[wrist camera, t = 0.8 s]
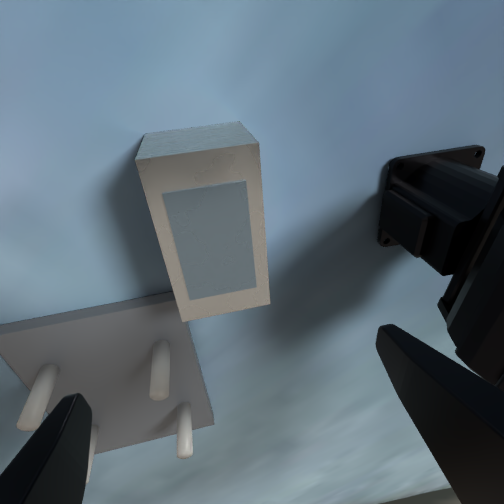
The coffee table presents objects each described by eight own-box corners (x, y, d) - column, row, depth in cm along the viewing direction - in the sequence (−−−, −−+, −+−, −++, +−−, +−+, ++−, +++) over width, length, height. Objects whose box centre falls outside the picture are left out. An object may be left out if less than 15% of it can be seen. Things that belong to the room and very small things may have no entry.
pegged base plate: (178, 290, 22) (179, 345, 18) (213, 414, 31) (219, 470, 27) (-6, 326, 21) (-51, 395, 16) (86, 445, 29) (71, 510, 25)
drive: (239, 120, 17) (259, 142, 13) (252, 256, 22) (270, 305, 18) (145, 132, 16) (134, 160, 12) (181, 270, 21) (182, 323, 17)
